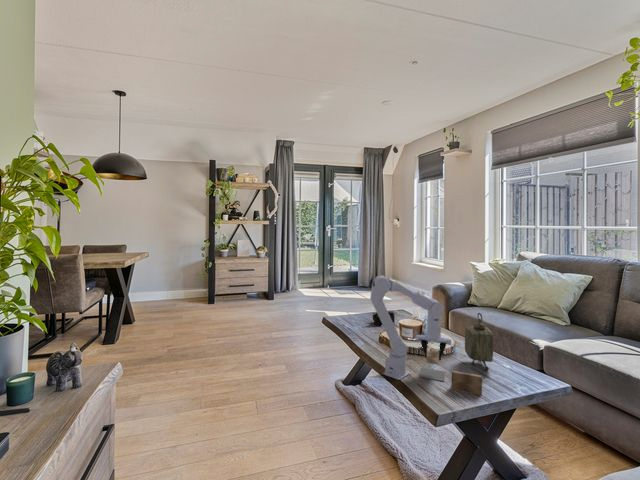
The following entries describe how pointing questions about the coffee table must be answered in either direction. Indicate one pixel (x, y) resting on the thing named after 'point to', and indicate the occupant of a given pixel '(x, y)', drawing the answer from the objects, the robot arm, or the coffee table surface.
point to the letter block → (433, 356)
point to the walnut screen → (466, 382)
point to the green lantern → (479, 342)
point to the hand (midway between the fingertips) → (433, 358)
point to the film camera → (378, 322)
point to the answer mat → (432, 374)
